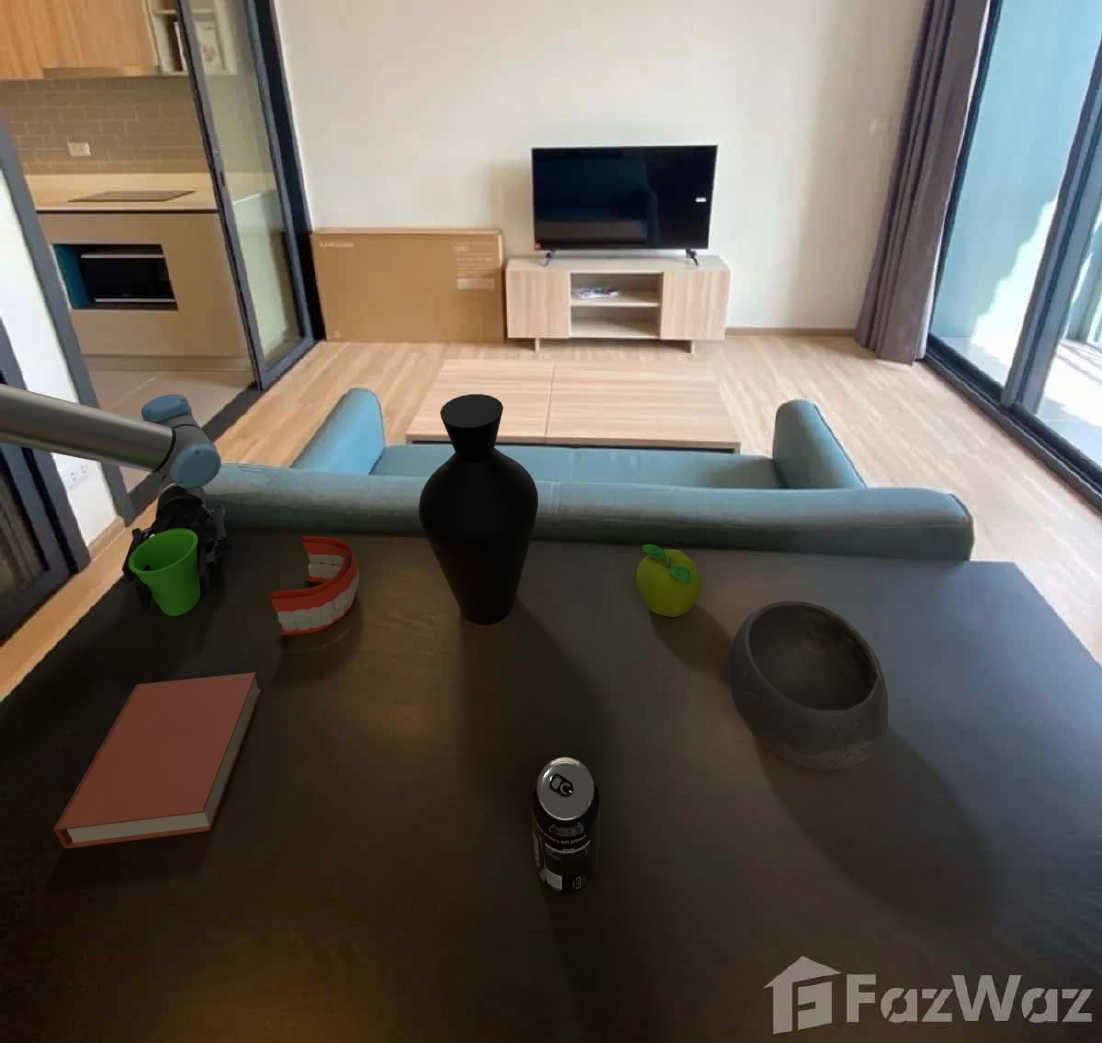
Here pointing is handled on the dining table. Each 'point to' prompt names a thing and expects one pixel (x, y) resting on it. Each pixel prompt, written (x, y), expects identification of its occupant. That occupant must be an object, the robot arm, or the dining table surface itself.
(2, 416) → the robot arm
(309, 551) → the toy
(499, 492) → the vase
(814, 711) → the bowl
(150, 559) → the cup
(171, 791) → the book
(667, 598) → the fruit
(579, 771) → the beverage can
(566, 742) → the dining table surface
